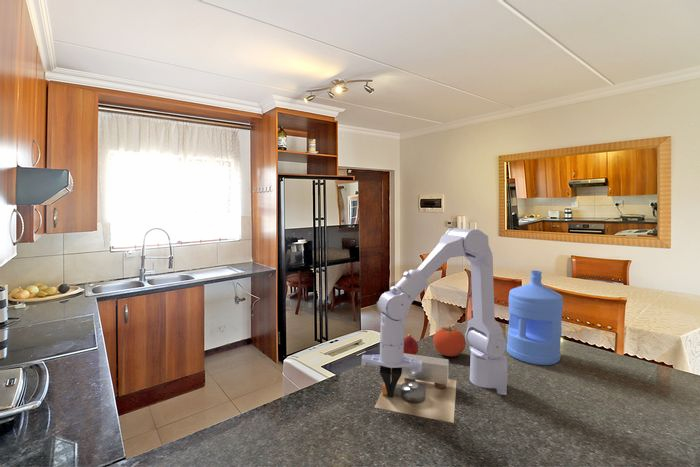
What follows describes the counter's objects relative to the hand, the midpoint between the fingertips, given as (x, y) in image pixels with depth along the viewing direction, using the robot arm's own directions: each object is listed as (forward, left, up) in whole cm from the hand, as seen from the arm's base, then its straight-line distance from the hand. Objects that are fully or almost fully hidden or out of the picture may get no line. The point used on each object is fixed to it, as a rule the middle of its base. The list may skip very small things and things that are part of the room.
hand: (390, 395), depth 86 cm
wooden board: (-6, -5, -2) cm, 8 cm away
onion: (0, -27, -2) cm, 27 cm away
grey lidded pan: (-3, -2, -1) cm, 4 cm away
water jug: (-38, -43, -2) cm, 58 cm away
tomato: (-12, -34, -2) cm, 36 cm away
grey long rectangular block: (-7, -10, +1) cm, 12 cm away
